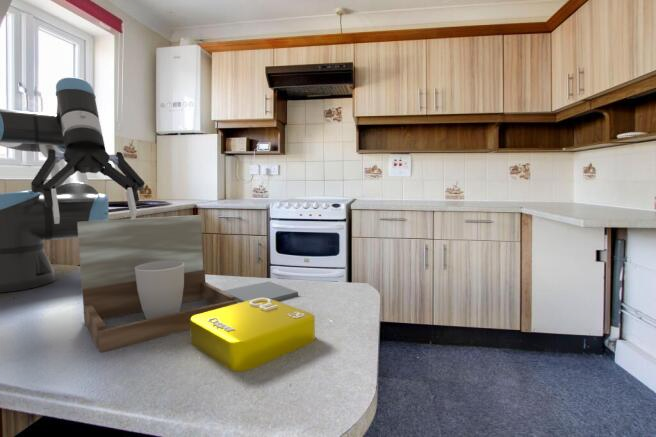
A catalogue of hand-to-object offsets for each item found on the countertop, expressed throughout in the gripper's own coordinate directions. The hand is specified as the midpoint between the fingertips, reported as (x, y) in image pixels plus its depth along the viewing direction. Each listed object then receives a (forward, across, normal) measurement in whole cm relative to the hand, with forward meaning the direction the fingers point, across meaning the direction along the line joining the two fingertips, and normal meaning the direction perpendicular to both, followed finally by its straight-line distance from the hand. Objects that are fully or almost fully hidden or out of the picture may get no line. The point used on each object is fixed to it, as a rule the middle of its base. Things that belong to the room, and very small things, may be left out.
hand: (98, 218), depth 75 cm
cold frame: (+25, +6, -6) cm, 27 cm away
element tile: (+36, +14, -22) cm, 45 cm away
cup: (+26, +6, -6) cm, 27 cm away
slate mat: (+25, +27, -6) cm, 37 cm away
